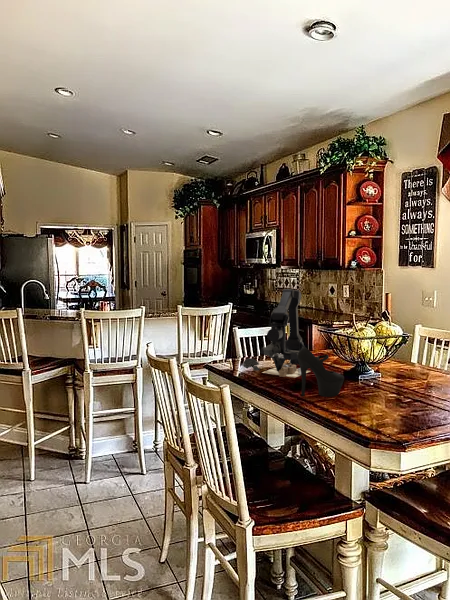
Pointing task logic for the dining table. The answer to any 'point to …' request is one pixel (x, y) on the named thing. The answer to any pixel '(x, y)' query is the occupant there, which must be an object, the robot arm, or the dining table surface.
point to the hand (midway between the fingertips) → (278, 371)
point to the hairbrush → (251, 363)
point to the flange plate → (287, 370)
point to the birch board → (275, 372)
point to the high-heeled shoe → (319, 373)
